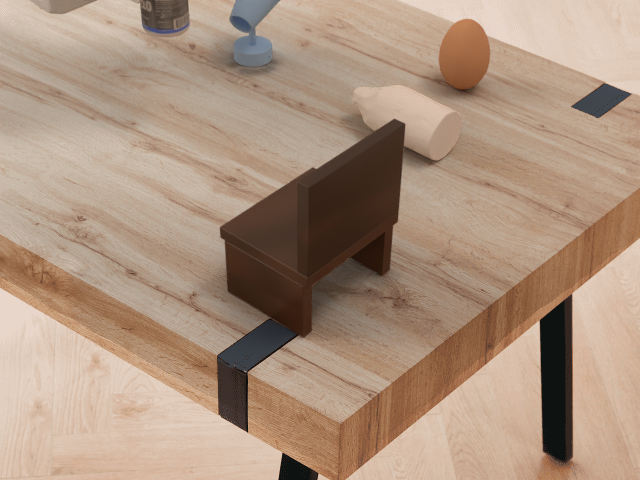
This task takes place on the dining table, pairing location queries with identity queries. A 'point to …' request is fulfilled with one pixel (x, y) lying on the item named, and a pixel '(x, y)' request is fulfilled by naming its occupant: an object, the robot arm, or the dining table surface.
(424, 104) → the beige bottle
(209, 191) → the dining table surface
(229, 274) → the small wooden chair
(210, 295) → the dining table surface
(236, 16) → the spotlight
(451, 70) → the egg
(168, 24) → the pill bottle
